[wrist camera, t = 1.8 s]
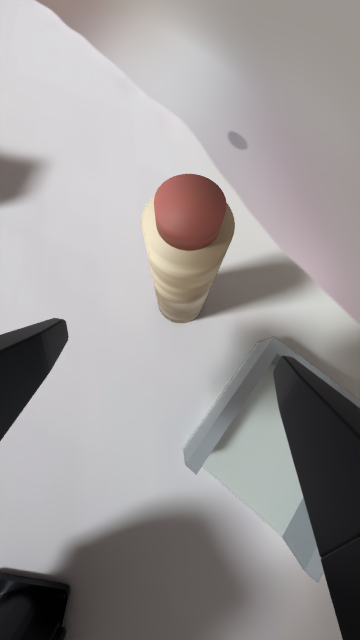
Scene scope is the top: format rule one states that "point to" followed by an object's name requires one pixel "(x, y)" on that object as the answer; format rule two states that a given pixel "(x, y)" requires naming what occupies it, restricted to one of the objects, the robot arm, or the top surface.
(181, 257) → the red-capped cream cylinder
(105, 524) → the top surface
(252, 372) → the tray
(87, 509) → the top surface
